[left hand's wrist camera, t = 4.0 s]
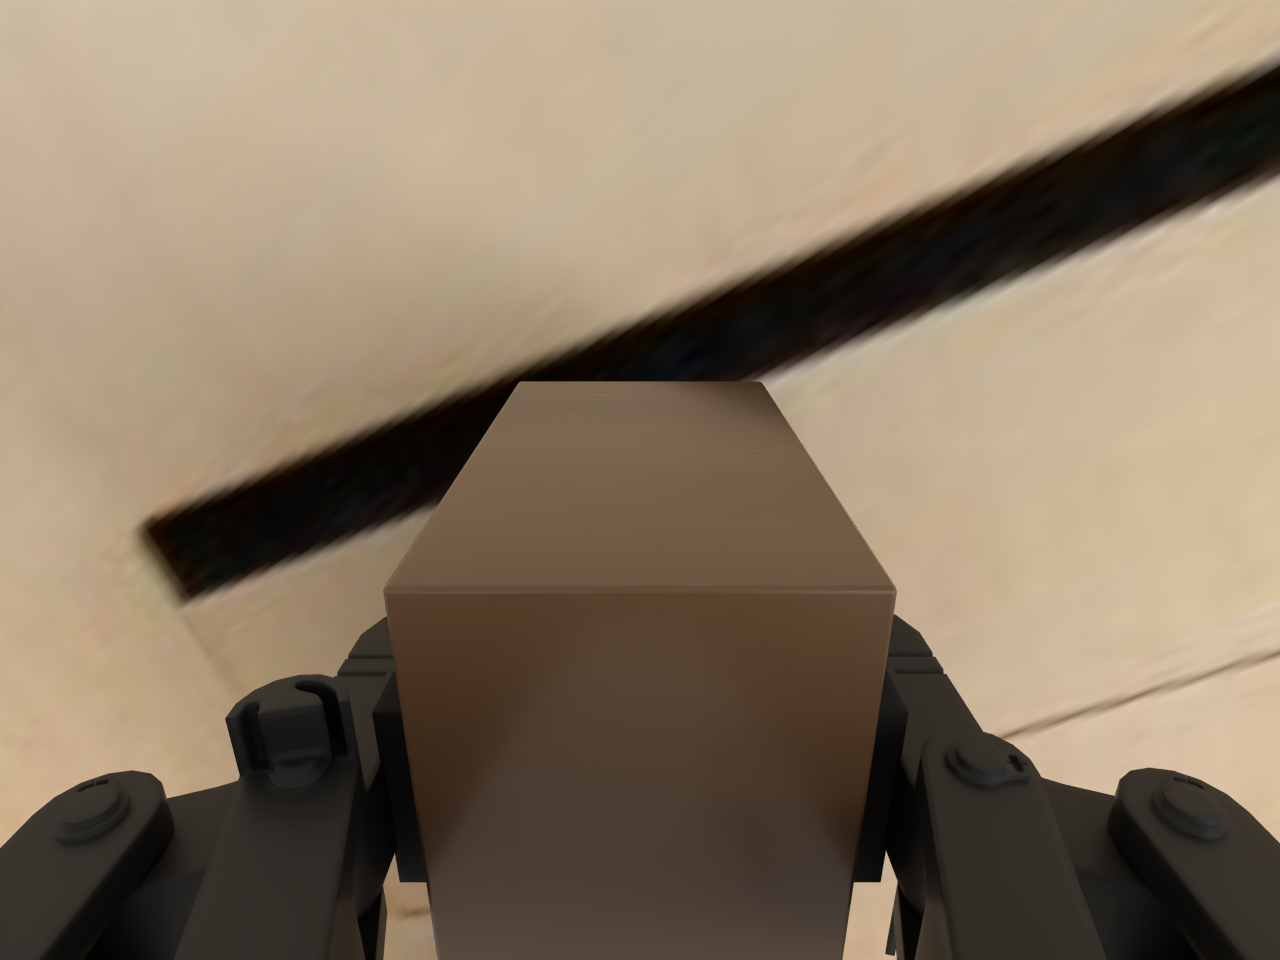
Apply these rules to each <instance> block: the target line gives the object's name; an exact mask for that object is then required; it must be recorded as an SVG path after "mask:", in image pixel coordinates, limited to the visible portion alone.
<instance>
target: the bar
mask: <svg viewBox="0 0 1280 960" xmlns="http://www.w3.org/2000/svg"><path fill="white" fill-rule="evenodd" d="M896 594H897V590H896V587H895V585H894V584H893V582H892V581H891V579H890V578H889V576H888V575H887V573H886V572H885V570H884V569H883V567H882V566H881V564H880V563H879V561H878V559H877V558H876V556H875V555H874V553H873V552H872V550H871V549H870V547H869V546H868V544H867V543H866V541H865V540H864V538H863V537H862V535H861V533H860V532H859V530H858V529H857V527H856V526H855V524H854V523H853V521H852V520H851V518H850V517H849V515H848V514H847V512H846V511H845V509H844V508H843V506H842V504H841V503H840V501H839V500H838V498H837V497H836V495H835V494H834V492H833V491H832V489H831V488H830V486H829V485H828V483H827V482H826V480H825V478H824V477H823V475H822V474H821V472H820V471H819V469H818V468H817V466H816V465H815V463H814V462H813V460H812V459H811V457H810V456H809V454H808V453H807V451H806V449H805V448H804V446H803V445H802V443H801V442H800V440H799V439H798V437H797V436H796V434H795V433H794V431H793V430H792V428H791V427H790V425H789V424H788V422H787V420H786V419H785V417H784V416H783V414H782V413H781V411H780V410H779V408H778V407H777V405H776V404H775V402H774V401H773V399H772V398H771V396H770V394H769V393H768V391H767V390H766V388H765V387H764V385H763V384H762V383H761V382H519V383H518V385H517V386H516V388H515V389H514V391H513V393H512V394H511V396H510V397H509V399H508V400H507V402H506V403H505V405H504V406H503V408H502V409H501V411H500V412H499V414H498V415H497V417H496V418H495V420H494V421H493V423H492V424H491V426H490V427H489V429H488V431H487V432H486V434H485V435H484V437H483V438H482V440H481V441H480V443H479V444H478V446H477V447H476V449H475V450H474V452H473V453H472V455H471V456H470V458H469V459H468V461H467V462H466V464H465V465H464V467H463V469H462V470H461V472H460V473H459V475H458V476H457V478H456V479H455V481H454V482H453V484H452V485H451V487H450V488H449V490H448V491H447V493H446V494H445V496H444V497H443V499H442V500H441V502H440V503H439V505H438V507H437V508H436V510H435V511H434V513H433V514H432V516H431V517H430V519H429V520H428V522H427V523H426V525H425V526H424V528H423V529H422V531H421V532H420V534H419V535H418V537H417V538H416V540H415V541H414V543H413V544H412V546H411V548H410V549H409V551H408V552H407V554H406V555H405V557H404V558H403V560H402V561H401V563H400V564H399V566H398V567H397V569H396V570H395V572H394V573H393V575H392V576H391V578H390V579H389V581H388V582H387V584H386V586H385V588H384V598H385V605H386V612H387V619H388V625H389V632H390V639H391V646H392V652H393V659H394V666H395V673H396V680H397V686H398V693H399V700H400V707H401V713H402V720H403V727H404V734H405V741H406V747H407V754H408V761H409V768H410V774H411V781H412V788H413V795H414V801H415V808H416V815H417V822H418V829H419V835H420V842H421V849H422V856H423V862H424V869H425V876H426V883H427V890H428V896H429V903H430V910H431V917H432V923H433V930H434V937H435V944H436V951H437V957H438V960H842V958H843V951H844V945H845V938H846V931H847V924H848V918H849V911H850V904H851V897H852V891H853V884H854V877H855V870H856V864H857V857H858V850H859V843H860V837H861V830H862V823H863V816H864V810H865V803H866V796H867V789H868V783H869V776H870V769H871V762H872V756H873V749H874V742H875V735H876V729H877V722H878V715H879V708H880V702H881V695H882V688H883V681H884V675H885V668H886V661H887V654H888V648H889V641H890V634H891V627H892V621H893V614H894V607H895V600H896Z"/></svg>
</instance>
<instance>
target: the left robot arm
mask: <svg viewBox="0 0 1280 960" xmlns="http://www.w3.org/2000/svg"><path fill="white" fill-rule="evenodd" d="M225 719H226V723H227V727H228V731H229V735H230V739H231V743H232V747H233V751H234V754H235V758H236V762H237V766H238V770H239V774H240V777H239V780H238V781H236V782H232V783H229V784H226V785H222V786H219V787H215V788H211V789H206V790H202V791H198V792H194V793H189V794H185V795H181V796H176V797H172V798H168V799H167V798H166V795H165V791H164V788H163V785H162V782H160V781H159V780H158V779H157V778H156V777H154V776H153V775H152V774H150V773H144V772H138V771H125V772H117V773H109V774H106V775H103V776H100V777H97V778H94V779H91V780H88V781H85V782H82V783H80V784H78V785H76V786H74V787H73V788H71V789H69V790H67V791H65V792H63V793H62V794H60V795H58V796H56V797H54V798H53V799H52V800H51V801H50V802H48V803H47V804H46V805H45V806H43V807H42V808H41V809H40V810H38V811H37V812H36V813H35V814H34V815H32V816H31V818H30V819H29V820H28V821H27V822H26V823H25V824H24V825H23V826H22V827H21V828H20V829H19V830H18V831H17V832H16V833H15V834H14V835H13V836H12V837H11V838H10V839H9V840H8V841H7V842H6V843H5V844H4V845H3V846H2V847H1V848H0V960H383V955H384V943H385V932H386V920H387V907H386V901H385V895H384V889H383V883H384V880H385V878H386V875H387V872H388V870H389V867H390V864H391V862H392V859H393V856H394V854H395V855H396V861H397V867H398V873H399V879H400V882H426V876H425V869H424V862H423V856H422V849H421V842H420V835H419V829H418V822H417V815H416V808H415V801H414V795H413V788H412V781H411V774H410V768H409V761H408V754H407V747H406V741H405V734H404V727H403V720H402V713H401V707H400V700H399V693H398V686H397V680H396V673H395V666H394V659H393V652H392V646H391V639H390V632H389V625H388V619H387V617H385V618H383V619H382V620H380V621H379V622H378V623H376V624H375V625H374V626H372V627H371V628H370V629H368V630H367V631H366V632H364V633H363V634H362V635H361V636H360V638H359V639H358V641H357V642H356V644H355V646H354V647H353V649H352V650H351V652H350V653H349V655H348V659H346V660H345V661H344V663H343V664H342V666H341V668H340V669H339V671H338V675H337V676H335V677H334V678H332V677H329V676H325V675H321V674H317V675H297V676H293V677H289V678H285V679H280V680H276V681H274V682H272V683H269V684H267V685H265V686H263V687H261V688H258V689H256V690H254V691H253V692H251V693H250V694H249V695H247V696H246V697H245V698H243V699H242V700H240V701H239V702H238V703H236V705H235V706H234V707H233V709H232V710H231V711H230V713H229V714H228V716H227V717H226V718H225ZM886 851H887V854H888V857H889V859H890V862H891V865H892V867H893V870H894V873H895V875H896V878H897V881H898V884H897V889H896V895H895V900H894V906H893V912H892V917H891V923H890V928H889V934H888V940H887V946H886V953H885V954H888V955H893V956H895V951H896V953H897V960H1280V843H1279V842H1278V841H1277V840H1276V839H1275V838H1274V837H1273V836H1272V835H1271V834H1270V833H1269V832H1268V831H1267V830H1266V829H1265V828H1264V827H1263V826H1262V825H1261V824H1260V823H1259V822H1258V821H1257V820H1256V819H1255V818H1254V817H1253V816H1252V815H1251V814H1250V813H1249V812H1248V811H1247V810H1246V809H1245V808H1243V807H1242V806H1241V805H1240V804H1238V803H1237V802H1236V801H1235V800H1233V799H1232V798H1231V797H1230V796H1228V795H1227V794H1225V793H1224V792H1222V791H1220V790H1218V789H1216V788H1214V787H1213V786H1211V785H1209V784H1207V783H1205V782H1203V781H1201V780H1199V779H1196V778H1193V777H1190V776H1187V775H1184V774H1181V773H1178V772H1175V771H1171V770H1163V769H1156V768H1144V769H1138V770H1132V771H1130V772H1128V773H1127V774H1126V775H1125V776H1124V777H1122V778H1121V779H1120V781H1119V784H1118V787H1117V790H1116V793H1115V796H1113V795H1108V794H1104V793H1100V792H1095V791H1091V790H1086V789H1082V788H1078V787H1073V786H1069V785H1065V784H1061V783H1058V782H1054V781H1051V780H1048V779H1045V778H1042V777H1041V776H1040V774H1039V772H1038V771H1037V769H1036V768H1035V766H1034V765H1033V763H1032V761H1031V760H1030V759H1029V758H1028V757H1027V756H1026V755H1025V754H1023V753H1022V752H1021V751H1020V750H1019V749H1017V748H1016V747H1015V746H1014V745H1012V744H1010V743H1008V742H1006V741H1004V740H1002V739H1000V738H998V737H997V736H995V735H993V734H989V733H986V732H983V731H982V729H981V728H980V726H979V724H978V723H977V721H976V720H975V718H974V717H973V715H972V714H971V712H970V710H969V709H968V707H967V706H966V704H965V703H964V701H963V700H962V698H961V696H960V695H959V693H958V692H957V690H956V689H955V687H954V685H953V684H952V682H951V681H950V679H949V678H948V676H947V675H946V674H944V673H943V668H942V667H941V665H940V664H939V662H938V661H937V659H936V657H933V655H932V651H931V650H930V648H929V647H928V645H927V643H926V642H925V640H924V639H923V637H922V636H921V634H920V632H918V631H917V630H916V629H914V628H913V627H911V626H910V625H909V624H907V623H906V622H905V621H903V620H902V619H901V618H899V617H898V616H897V615H893V621H892V627H891V634H890V641H889V648H888V654H887V661H886V668H885V675H884V681H883V688H882V695H881V702H880V708H879V715H878V722H877V729H876V735H875V742H874V749H873V756H872V762H871V769H870V776H869V783H868V789H867V796H866V803H865V810H864V816H863V823H862V830H861V837H860V843H859V850H858V857H857V864H856V870H855V877H854V882H881V876H882V870H883V864H884V858H885V852H886Z"/></svg>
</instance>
